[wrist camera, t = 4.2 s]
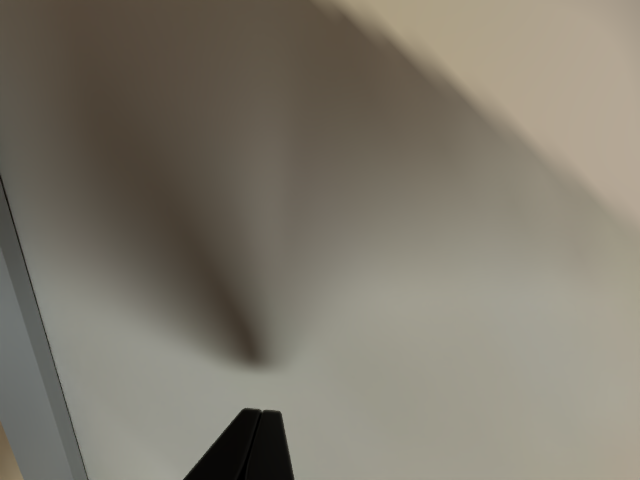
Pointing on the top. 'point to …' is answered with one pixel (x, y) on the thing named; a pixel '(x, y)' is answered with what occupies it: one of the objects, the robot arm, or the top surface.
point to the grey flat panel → (30, 375)
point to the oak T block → (7, 459)
